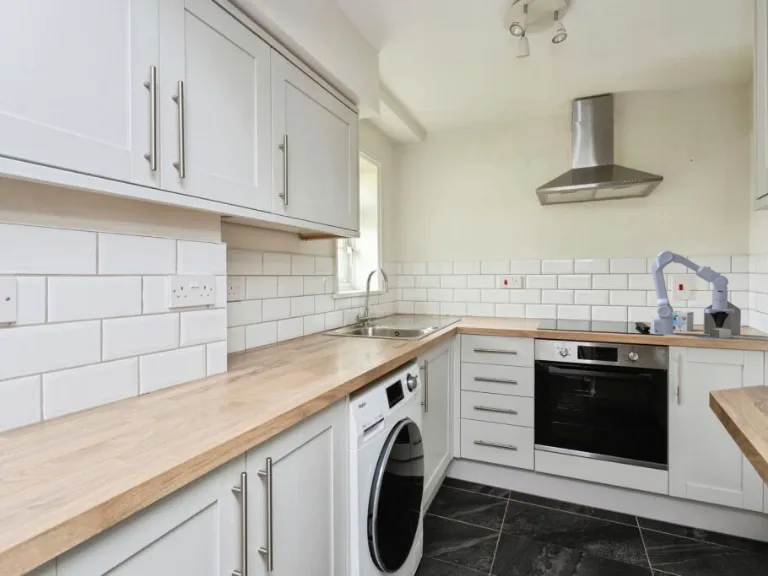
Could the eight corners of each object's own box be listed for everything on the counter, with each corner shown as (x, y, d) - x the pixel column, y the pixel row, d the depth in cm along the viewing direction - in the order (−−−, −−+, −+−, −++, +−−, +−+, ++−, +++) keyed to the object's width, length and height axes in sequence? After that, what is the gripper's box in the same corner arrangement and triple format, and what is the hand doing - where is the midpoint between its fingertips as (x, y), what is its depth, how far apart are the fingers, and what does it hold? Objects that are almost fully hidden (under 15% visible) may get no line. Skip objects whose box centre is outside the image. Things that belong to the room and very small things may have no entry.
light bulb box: (666, 329, 229) (666, 310, 228) (672, 328, 232) (673, 310, 232) (687, 331, 219) (687, 312, 219) (693, 330, 222) (694, 311, 222)
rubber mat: (699, 339, 192) (699, 338, 192) (690, 335, 204) (690, 334, 203) (740, 341, 186) (740, 340, 186) (729, 337, 198) (729, 336, 198)
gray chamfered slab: (730, 333, 211) (731, 297, 210) (740, 336, 203) (741, 298, 202) (695, 332, 214) (696, 297, 214) (703, 334, 207) (704, 298, 206)
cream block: (718, 329, 192) (731, 329, 194) (710, 328, 196) (722, 328, 197) (718, 338, 193) (730, 337, 194) (710, 336, 197) (722, 336, 198)
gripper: (714, 300, 189) (714, 328, 190) (740, 300, 192) (740, 328, 192) (701, 299, 196) (700, 326, 197) (726, 299, 199) (725, 326, 199)
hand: (719, 327), depth 195 cm, fingers closed
